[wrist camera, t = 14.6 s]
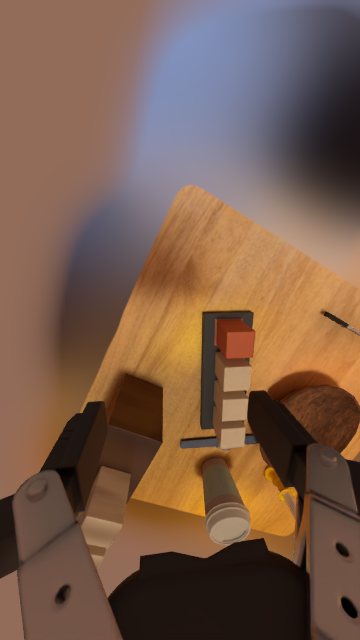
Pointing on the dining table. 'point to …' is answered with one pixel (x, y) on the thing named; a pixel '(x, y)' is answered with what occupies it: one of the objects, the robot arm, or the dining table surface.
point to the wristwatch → (213, 442)
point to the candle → (282, 489)
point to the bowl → (324, 415)
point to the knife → (341, 322)
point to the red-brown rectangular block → (235, 339)
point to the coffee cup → (223, 504)
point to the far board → (210, 360)
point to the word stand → (122, 460)
